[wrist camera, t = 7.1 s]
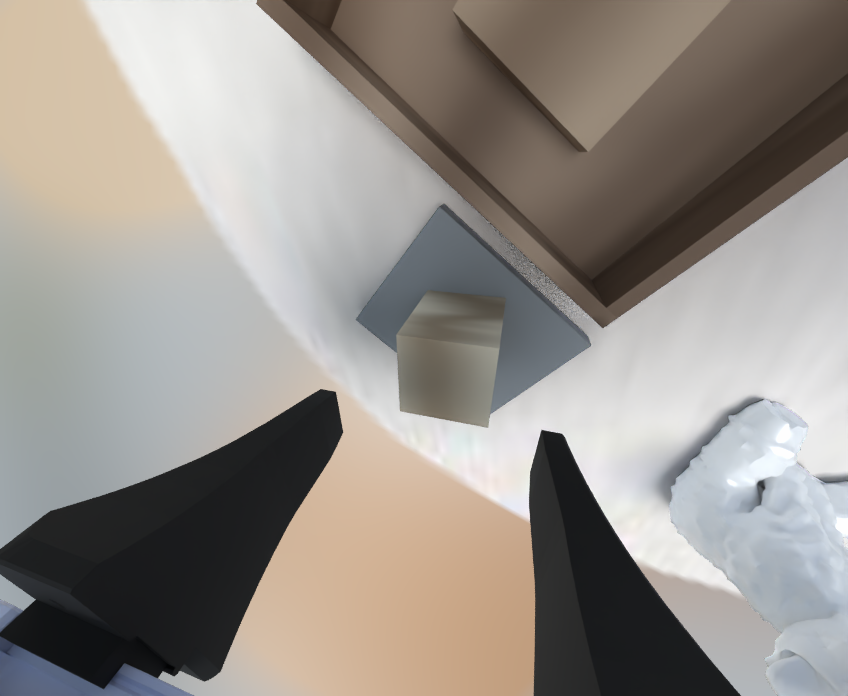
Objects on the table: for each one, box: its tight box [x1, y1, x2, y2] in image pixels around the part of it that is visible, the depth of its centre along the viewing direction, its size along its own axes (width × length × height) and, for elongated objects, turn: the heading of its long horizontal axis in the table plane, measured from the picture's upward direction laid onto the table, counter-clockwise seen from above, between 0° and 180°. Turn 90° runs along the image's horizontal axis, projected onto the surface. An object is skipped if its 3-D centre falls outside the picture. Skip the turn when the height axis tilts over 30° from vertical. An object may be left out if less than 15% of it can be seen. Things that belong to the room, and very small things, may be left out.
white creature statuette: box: [669, 399, 848, 696], centre depth 14 cm, size 10×9×12 cm
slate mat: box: [356, 204, 591, 414], centre depth 18 cm, size 10×8×1 cm
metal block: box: [396, 290, 506, 428], centre depth 15 cm, size 4×4×5 cm
